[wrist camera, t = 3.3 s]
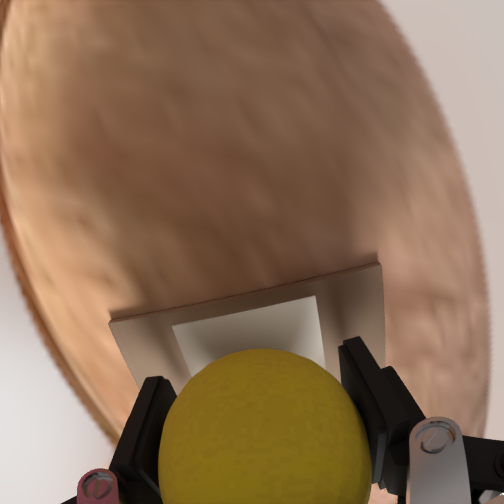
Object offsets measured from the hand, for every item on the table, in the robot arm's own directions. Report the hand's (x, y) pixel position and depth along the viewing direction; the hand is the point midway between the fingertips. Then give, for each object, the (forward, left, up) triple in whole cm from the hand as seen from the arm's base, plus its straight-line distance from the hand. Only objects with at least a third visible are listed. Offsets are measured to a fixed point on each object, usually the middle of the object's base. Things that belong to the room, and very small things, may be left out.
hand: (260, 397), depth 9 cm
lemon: (0, 0, -2) cm, 2 cm away
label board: (-4, 0, -2) cm, 4 cm away
